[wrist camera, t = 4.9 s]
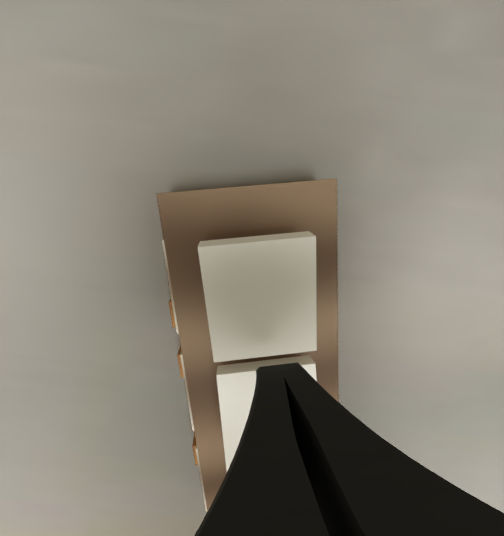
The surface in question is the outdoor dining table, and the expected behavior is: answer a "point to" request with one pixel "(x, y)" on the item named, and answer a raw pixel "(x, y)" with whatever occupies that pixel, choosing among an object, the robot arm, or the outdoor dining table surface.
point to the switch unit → (193, 300)
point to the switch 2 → (244, 396)
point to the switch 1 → (260, 295)
